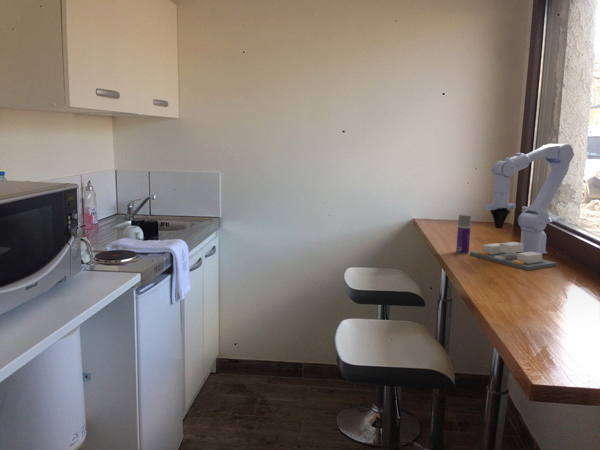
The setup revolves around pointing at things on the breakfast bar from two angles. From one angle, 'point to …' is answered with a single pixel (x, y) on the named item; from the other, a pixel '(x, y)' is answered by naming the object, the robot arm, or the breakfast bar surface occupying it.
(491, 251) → the button
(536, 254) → the button
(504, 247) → the button
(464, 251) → the container
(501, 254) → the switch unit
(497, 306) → the breakfast bar surface
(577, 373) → the breakfast bar surface
